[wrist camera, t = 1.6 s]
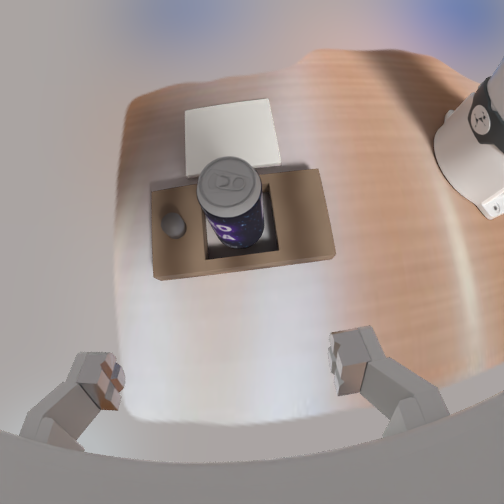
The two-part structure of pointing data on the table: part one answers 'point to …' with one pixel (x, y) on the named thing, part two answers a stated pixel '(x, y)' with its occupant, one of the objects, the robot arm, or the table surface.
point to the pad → (230, 135)
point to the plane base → (289, 252)
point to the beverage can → (232, 201)
